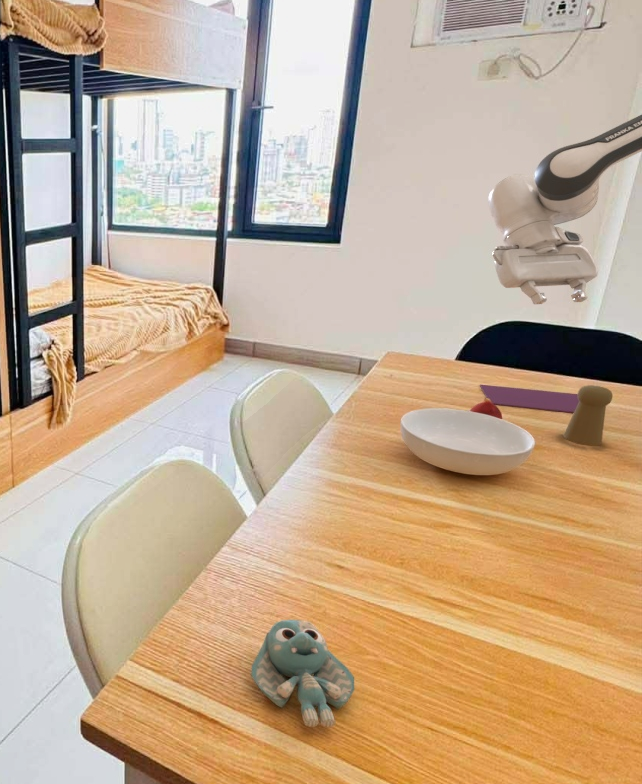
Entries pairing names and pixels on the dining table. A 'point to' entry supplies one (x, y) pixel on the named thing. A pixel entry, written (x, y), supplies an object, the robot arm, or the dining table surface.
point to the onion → (487, 409)
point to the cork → (589, 416)
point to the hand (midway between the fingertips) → (561, 301)
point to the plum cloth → (531, 398)
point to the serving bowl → (466, 441)
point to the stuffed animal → (302, 671)
